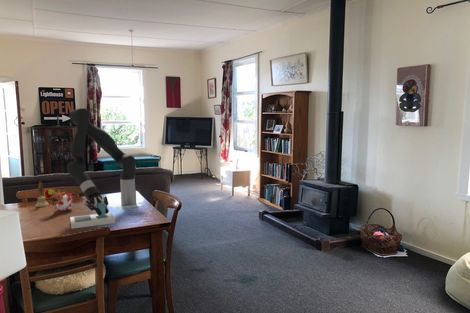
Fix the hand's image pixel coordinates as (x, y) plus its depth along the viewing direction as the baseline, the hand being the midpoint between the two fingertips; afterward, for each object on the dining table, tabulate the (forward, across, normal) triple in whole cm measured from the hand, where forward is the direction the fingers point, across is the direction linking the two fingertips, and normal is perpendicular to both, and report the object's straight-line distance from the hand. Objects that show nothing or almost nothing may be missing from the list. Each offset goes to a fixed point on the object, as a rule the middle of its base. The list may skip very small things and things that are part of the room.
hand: (104, 213), depth 201 cm
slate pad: (-3, -9, +6) cm, 11 cm away
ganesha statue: (-26, 0, +34) cm, 43 cm away
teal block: (+2, 0, +5) cm, 5 cm away
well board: (0, -4, +7) cm, 8 cm away
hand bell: (-43, +2, +51) cm, 67 cm away
